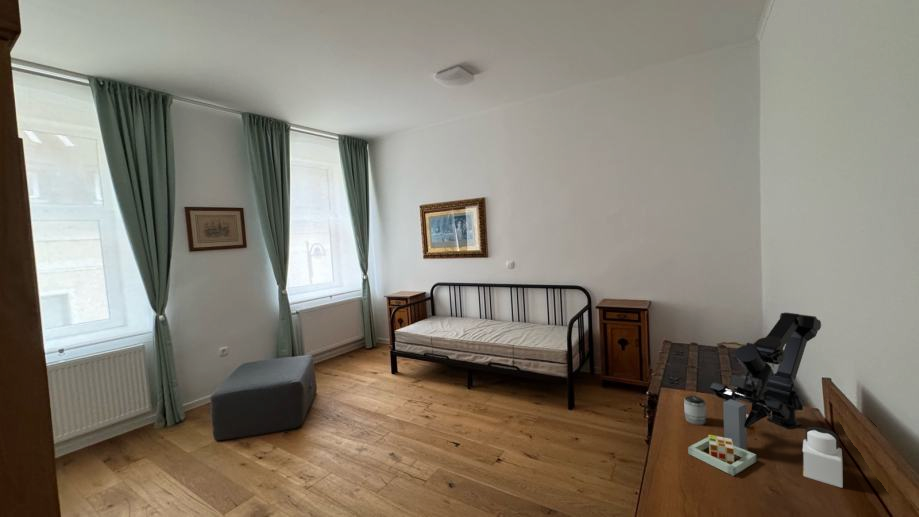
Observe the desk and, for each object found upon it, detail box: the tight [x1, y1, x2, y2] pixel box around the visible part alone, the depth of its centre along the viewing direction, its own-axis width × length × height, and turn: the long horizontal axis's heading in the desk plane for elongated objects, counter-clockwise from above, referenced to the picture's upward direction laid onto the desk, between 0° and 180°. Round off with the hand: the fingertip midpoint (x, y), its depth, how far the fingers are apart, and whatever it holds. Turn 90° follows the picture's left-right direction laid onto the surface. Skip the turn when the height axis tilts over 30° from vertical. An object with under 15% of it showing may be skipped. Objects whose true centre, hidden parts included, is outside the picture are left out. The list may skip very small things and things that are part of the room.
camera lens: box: [683, 395, 707, 426], centre depth 124 cm, size 6×6×8 cm
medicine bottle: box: [802, 426, 844, 489], centre depth 94 cm, size 7×7×12 cm
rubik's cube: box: [708, 434, 735, 465], centre depth 103 cm, size 6×6×6 cm
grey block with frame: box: [687, 399, 757, 477], centre depth 104 cm, size 15×12×14 cm
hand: (737, 424), depth 107 cm, fingers closed on grey block with frame, 4 cm apart
